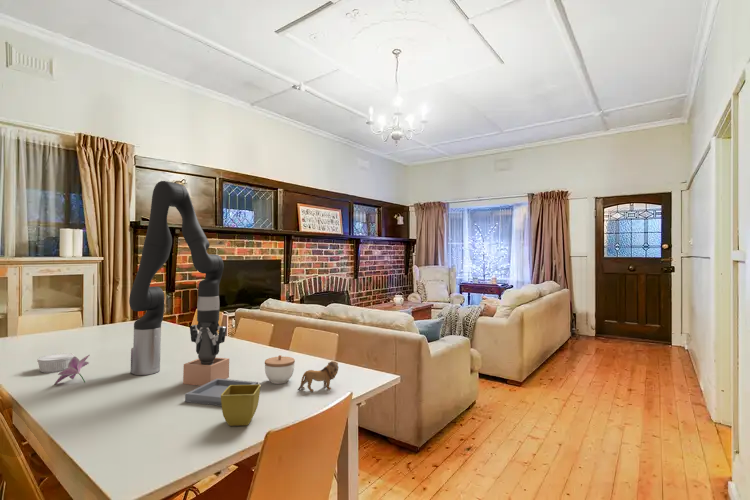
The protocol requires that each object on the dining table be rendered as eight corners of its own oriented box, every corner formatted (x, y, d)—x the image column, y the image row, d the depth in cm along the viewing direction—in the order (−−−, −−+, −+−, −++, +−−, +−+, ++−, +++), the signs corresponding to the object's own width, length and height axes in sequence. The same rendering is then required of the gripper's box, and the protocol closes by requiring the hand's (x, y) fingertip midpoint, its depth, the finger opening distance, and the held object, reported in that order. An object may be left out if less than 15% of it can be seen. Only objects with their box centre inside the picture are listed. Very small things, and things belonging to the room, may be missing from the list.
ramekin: (41, 375, 144) (41, 361, 145) (33, 370, 151) (34, 356, 151) (77, 369, 153) (77, 355, 153) (68, 364, 160) (69, 351, 160)
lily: (95, 377, 146) (82, 355, 146) (106, 370, 139) (92, 348, 139) (58, 396, 136) (44, 373, 135) (68, 390, 129) (54, 365, 129)
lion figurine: (335, 383, 139) (335, 358, 139) (340, 388, 134) (341, 362, 134) (295, 389, 132) (295, 363, 132) (299, 394, 127) (300, 367, 128)
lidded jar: (300, 379, 144) (300, 354, 144) (281, 387, 134) (282, 360, 134) (277, 375, 148) (277, 350, 148) (257, 383, 138) (258, 357, 138)
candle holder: (209, 383, 137) (210, 313, 138) (193, 382, 138) (195, 312, 139) (219, 378, 143) (220, 311, 144) (204, 377, 144) (205, 310, 145)
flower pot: (229, 416, 109) (229, 384, 110) (260, 415, 110) (261, 383, 110) (219, 429, 101) (220, 395, 101) (253, 429, 101) (254, 394, 102)
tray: (184, 401, 120) (185, 393, 120) (216, 385, 135) (216, 378, 135) (230, 406, 116) (230, 398, 116) (258, 389, 132) (258, 382, 132)
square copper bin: (183, 383, 137) (183, 364, 137) (203, 374, 147) (203, 356, 147) (210, 386, 134) (210, 366, 134) (228, 377, 145) (229, 358, 145)
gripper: (184, 308, 139) (183, 355, 139) (219, 310, 136) (218, 358, 136) (198, 306, 147) (197, 350, 146) (231, 307, 143) (231, 353, 143)
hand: (207, 354), depth 141 cm, fingers closed on candle holder, 6 cm apart
